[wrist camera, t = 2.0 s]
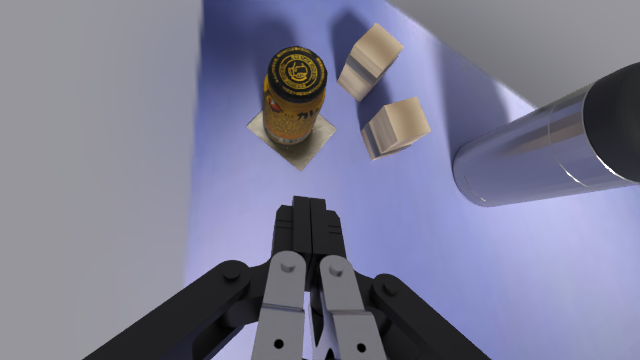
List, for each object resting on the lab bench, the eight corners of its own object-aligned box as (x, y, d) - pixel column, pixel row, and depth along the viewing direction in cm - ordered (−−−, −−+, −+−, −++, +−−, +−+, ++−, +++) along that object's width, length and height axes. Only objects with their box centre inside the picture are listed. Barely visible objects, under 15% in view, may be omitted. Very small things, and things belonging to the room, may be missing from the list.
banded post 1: (355, 62, 41) (376, 21, 34) (378, 83, 41) (405, 46, 34) (335, 82, 40) (352, 44, 33) (359, 103, 40) (382, 71, 33)
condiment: (285, 86, 39) (294, 21, 27) (336, 129, 39) (367, 83, 28) (246, 127, 37) (238, 75, 26) (300, 172, 37) (316, 141, 26)
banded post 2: (388, 123, 41) (417, 95, 33) (399, 152, 40) (432, 131, 32) (359, 131, 40) (382, 104, 32) (370, 161, 39) (397, 142, 31)
